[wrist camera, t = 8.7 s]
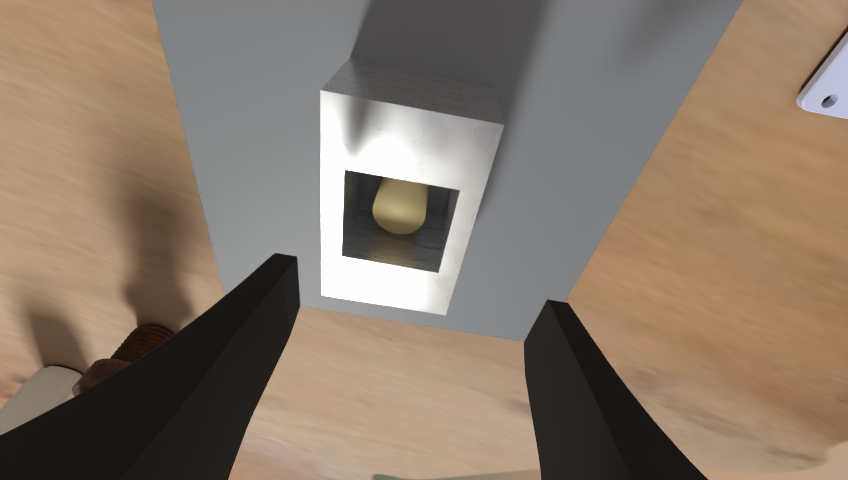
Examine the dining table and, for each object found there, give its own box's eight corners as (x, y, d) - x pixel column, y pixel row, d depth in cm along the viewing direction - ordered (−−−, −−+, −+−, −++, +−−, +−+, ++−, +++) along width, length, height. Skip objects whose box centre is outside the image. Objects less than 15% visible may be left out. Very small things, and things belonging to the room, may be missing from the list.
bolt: (104, 312, 28) (-150, 583, 16) (162, 306, 27) (-64, 588, 15) (155, 358, 31) (-25, 609, 20) (208, 354, 30) (52, 615, 19)
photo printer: (107, 421, 40) (-6, 576, 30) (62, 410, 39) (-69, 567, 29) (92, 371, 33) (-56, 547, 24) (38, 358, 33) (-138, 534, 23)
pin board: (737, -40, 13) (825, -32, 10) (535, 325, 25) (546, 379, 22) (141, -168, 12) (30, -206, 9) (234, 276, 25) (202, 325, 21)
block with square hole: (494, 85, 15) (504, 125, 12) (447, 257, 20) (445, 315, 17) (350, 57, 14) (320, 90, 11) (343, 239, 20) (321, 295, 17)
